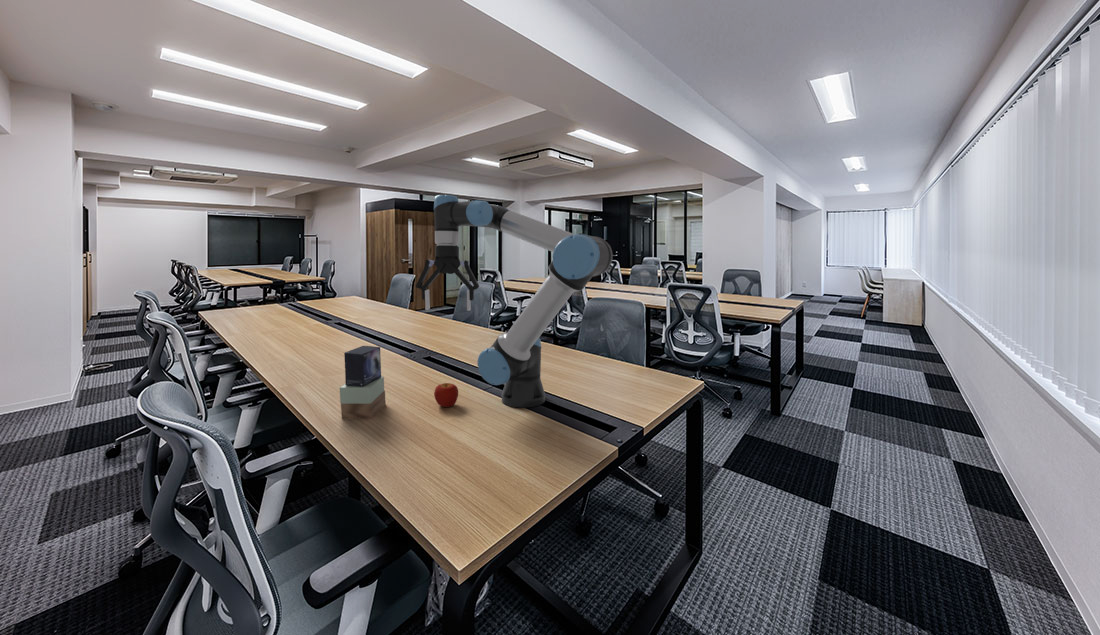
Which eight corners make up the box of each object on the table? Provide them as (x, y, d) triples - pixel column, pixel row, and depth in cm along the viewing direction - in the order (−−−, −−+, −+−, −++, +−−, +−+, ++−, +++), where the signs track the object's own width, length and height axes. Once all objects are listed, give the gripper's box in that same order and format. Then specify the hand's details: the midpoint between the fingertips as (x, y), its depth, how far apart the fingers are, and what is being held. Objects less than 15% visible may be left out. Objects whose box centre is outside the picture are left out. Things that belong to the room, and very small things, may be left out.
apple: (433, 410, 137) (433, 387, 136) (435, 402, 145) (434, 380, 144) (458, 409, 139) (458, 386, 138) (458, 401, 147) (458, 379, 145)
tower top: (384, 390, 141) (383, 376, 141) (370, 403, 130) (369, 387, 129) (356, 390, 141) (356, 376, 140) (340, 403, 129) (339, 387, 128)
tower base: (385, 405, 142) (385, 390, 141) (371, 419, 130) (370, 403, 130) (358, 404, 142) (357, 390, 141) (341, 418, 130) (340, 403, 129)
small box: (364, 387, 129) (362, 353, 127) (344, 386, 130) (342, 352, 128) (382, 377, 139) (381, 345, 138) (364, 376, 140) (362, 345, 139)
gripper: (487, 245, 142) (487, 308, 145) (411, 244, 141) (413, 307, 144) (484, 245, 134) (484, 311, 138) (404, 244, 134) (406, 311, 137)
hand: (448, 310), depth 141 cm, fingers open, 13 cm apart
